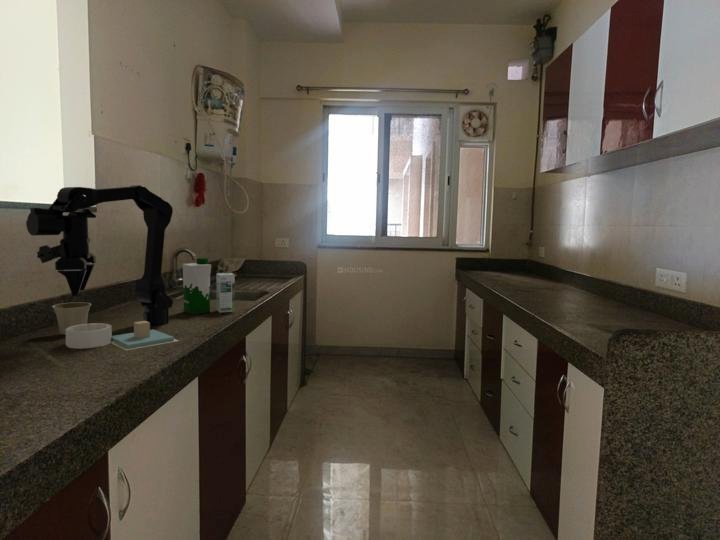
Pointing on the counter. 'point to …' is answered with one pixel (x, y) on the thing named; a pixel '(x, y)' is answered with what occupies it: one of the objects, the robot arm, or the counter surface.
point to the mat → (141, 346)
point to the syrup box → (225, 292)
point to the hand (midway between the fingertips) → (78, 293)
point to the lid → (141, 336)
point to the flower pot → (71, 314)
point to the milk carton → (196, 286)
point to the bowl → (88, 335)
